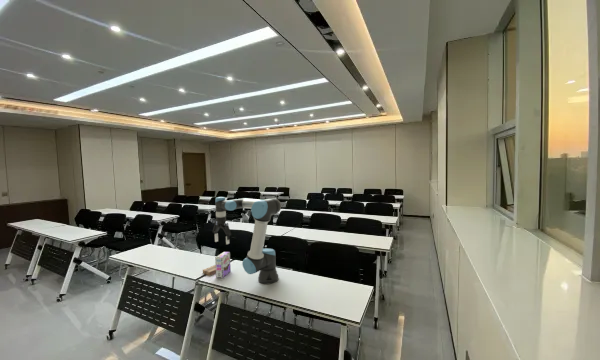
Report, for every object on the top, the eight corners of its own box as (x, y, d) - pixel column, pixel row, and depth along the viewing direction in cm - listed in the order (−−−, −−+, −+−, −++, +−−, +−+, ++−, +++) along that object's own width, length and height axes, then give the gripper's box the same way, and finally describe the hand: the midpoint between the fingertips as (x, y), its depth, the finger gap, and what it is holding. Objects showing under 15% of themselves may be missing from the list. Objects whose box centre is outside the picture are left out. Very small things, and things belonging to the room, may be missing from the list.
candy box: (222, 278, 194) (221, 257, 193) (215, 277, 195) (214, 257, 194) (231, 271, 207) (230, 251, 207) (224, 270, 208) (223, 251, 208)
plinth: (224, 269, 211) (224, 265, 211) (209, 275, 199) (209, 272, 199) (217, 267, 216) (217, 263, 216) (202, 273, 204) (202, 269, 204)
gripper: (235, 216, 195) (236, 243, 196) (214, 214, 209) (215, 239, 210) (227, 218, 189) (228, 246, 190) (207, 216, 203) (208, 241, 204)
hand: (222, 242), depth 200 cm, fingers open, 13 cm apart
